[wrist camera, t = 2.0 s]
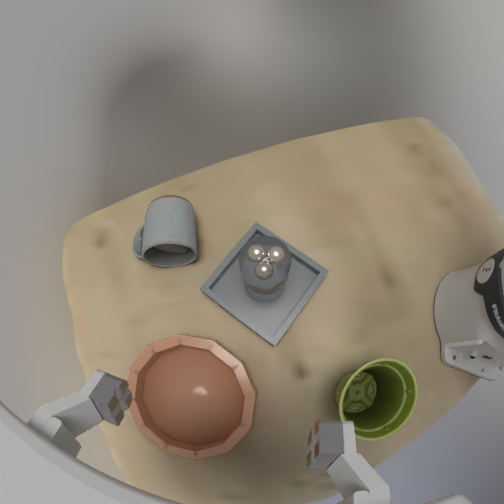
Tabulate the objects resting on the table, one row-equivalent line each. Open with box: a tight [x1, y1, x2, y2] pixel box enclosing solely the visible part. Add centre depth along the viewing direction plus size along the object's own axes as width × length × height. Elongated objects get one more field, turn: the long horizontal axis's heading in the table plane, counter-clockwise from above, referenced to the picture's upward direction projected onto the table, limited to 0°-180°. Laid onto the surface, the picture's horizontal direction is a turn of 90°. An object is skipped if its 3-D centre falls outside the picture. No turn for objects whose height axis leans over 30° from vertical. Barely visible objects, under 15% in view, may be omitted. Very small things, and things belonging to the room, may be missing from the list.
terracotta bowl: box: [128, 334, 256, 460], centre depth 30 cm, size 16×16×4 cm
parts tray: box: [200, 223, 328, 346], centre depth 36 cm, size 12×12×2 cm
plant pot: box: [335, 358, 418, 441], centre depth 26 cm, size 9×9×9 cm
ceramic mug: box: [133, 195, 198, 267], centre depth 36 cm, size 11×8×8 cm
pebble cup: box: [239, 236, 292, 303], centre depth 32 cm, size 5×5×10 cm
